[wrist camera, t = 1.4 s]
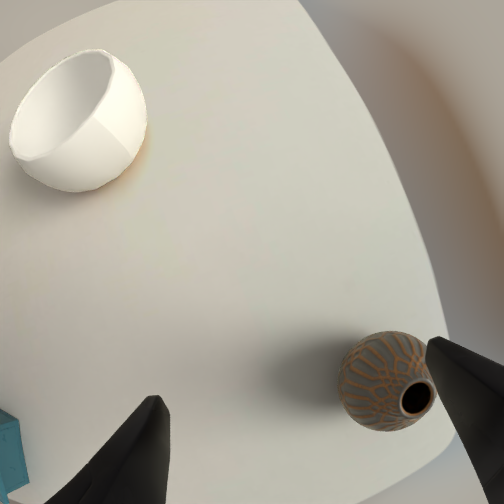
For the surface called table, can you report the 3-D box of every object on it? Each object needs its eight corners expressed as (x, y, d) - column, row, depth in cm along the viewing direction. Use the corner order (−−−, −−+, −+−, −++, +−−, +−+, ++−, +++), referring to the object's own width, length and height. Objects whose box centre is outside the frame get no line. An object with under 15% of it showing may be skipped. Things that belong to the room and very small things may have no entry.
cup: (110, 91, 30) (70, 38, 20) (189, 123, 28) (155, 54, 18) (45, 178, 28) (-12, 141, 19) (112, 231, 26) (44, 195, 17)
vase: (338, 324, 23) (369, 330, 14) (418, 332, 22) (477, 337, 13) (323, 410, 22) (343, 456, 13) (402, 413, 21) (451, 451, 12)
